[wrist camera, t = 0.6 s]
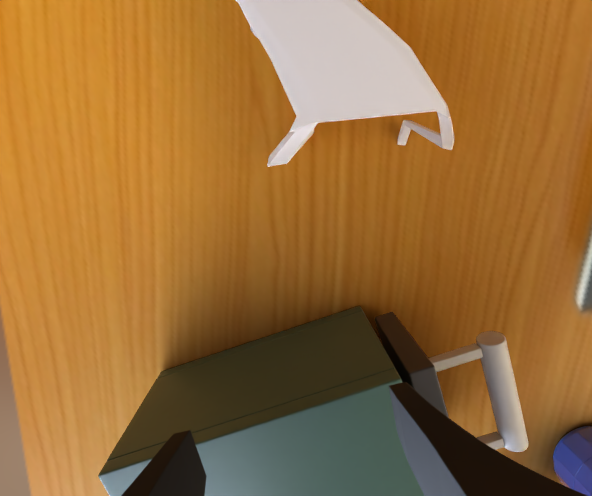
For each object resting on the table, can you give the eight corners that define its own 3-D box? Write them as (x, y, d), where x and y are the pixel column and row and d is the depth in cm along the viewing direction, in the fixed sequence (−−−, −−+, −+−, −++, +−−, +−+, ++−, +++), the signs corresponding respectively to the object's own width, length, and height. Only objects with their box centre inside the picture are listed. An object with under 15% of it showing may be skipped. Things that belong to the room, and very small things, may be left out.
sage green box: (360, 305, 22) (401, 378, 14) (405, 449, 24) (462, 577, 17) (160, 371, 22) (96, 476, 15) (226, 505, 25) (201, 653, 17)
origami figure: (218, 157, 19) (196, 152, 14) (240, -8, 18) (224, -76, 13) (420, 196, 20) (462, 204, 15) (461, 43, 18) (523, -2, 14)
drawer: (466, 286, 21) (539, 332, 15) (499, 424, 23) (573, 511, 17) (201, 373, 21) (170, 450, 15) (259, 499, 24) (251, 607, 18)
